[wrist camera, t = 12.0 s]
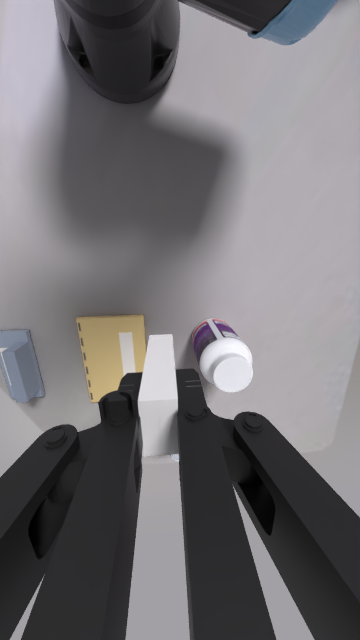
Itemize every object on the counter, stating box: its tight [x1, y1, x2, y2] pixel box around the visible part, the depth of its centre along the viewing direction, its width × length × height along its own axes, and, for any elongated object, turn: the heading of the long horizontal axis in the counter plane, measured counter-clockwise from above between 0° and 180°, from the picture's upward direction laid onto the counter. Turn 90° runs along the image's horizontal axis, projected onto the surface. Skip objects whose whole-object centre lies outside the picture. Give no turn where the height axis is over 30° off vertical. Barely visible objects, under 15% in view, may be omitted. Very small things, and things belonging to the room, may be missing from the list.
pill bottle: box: [192, 318, 253, 393], centre depth 37 cm, size 8×8×14 cm
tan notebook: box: [76, 315, 147, 402], centre depth 43 cm, size 18×12×1 cm, turn 1°
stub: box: [0, 330, 45, 402], centre depth 40 cm, size 14×6×5 cm, turn 1°
